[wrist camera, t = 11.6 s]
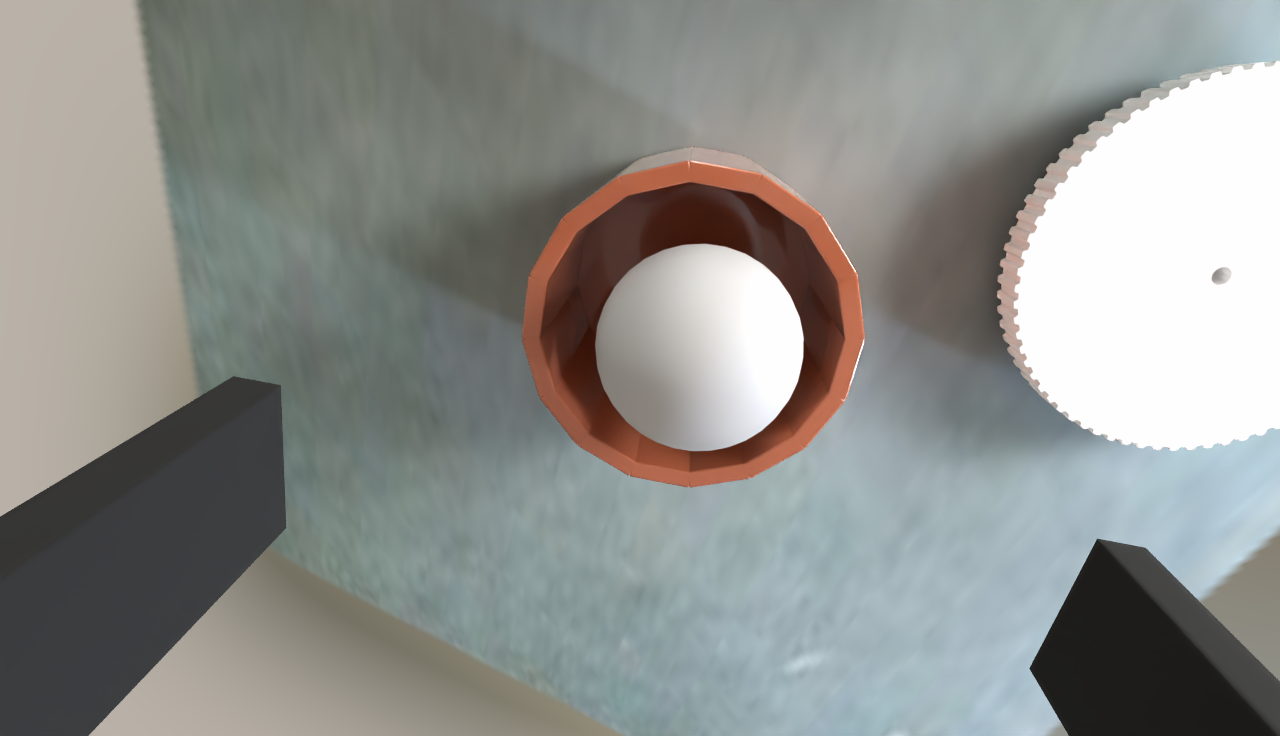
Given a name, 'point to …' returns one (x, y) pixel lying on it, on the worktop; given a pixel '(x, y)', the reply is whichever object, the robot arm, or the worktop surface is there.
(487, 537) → the worktop surface
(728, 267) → the lightbulb
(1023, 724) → the worktop surface
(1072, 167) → the plastic lid
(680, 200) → the holder
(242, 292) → the worktop surface
